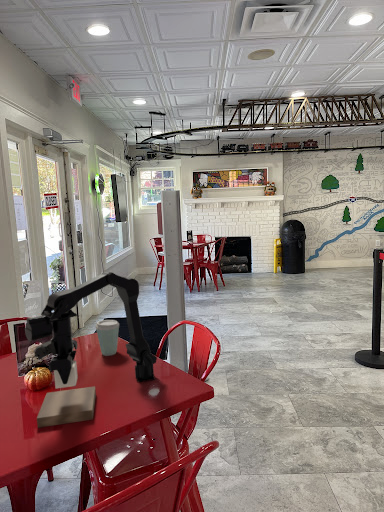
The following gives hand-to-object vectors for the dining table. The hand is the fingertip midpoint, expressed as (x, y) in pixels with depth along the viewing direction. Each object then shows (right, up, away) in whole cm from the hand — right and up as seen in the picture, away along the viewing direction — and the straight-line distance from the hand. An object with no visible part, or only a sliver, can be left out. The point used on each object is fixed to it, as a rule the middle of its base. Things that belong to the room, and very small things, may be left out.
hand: (66, 379), depth 115 cm
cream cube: (0, -1, 0) cm, 1 cm away
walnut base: (0, -10, +1) cm, 10 cm away
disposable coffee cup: (+3, -5, +48) cm, 49 cm away
